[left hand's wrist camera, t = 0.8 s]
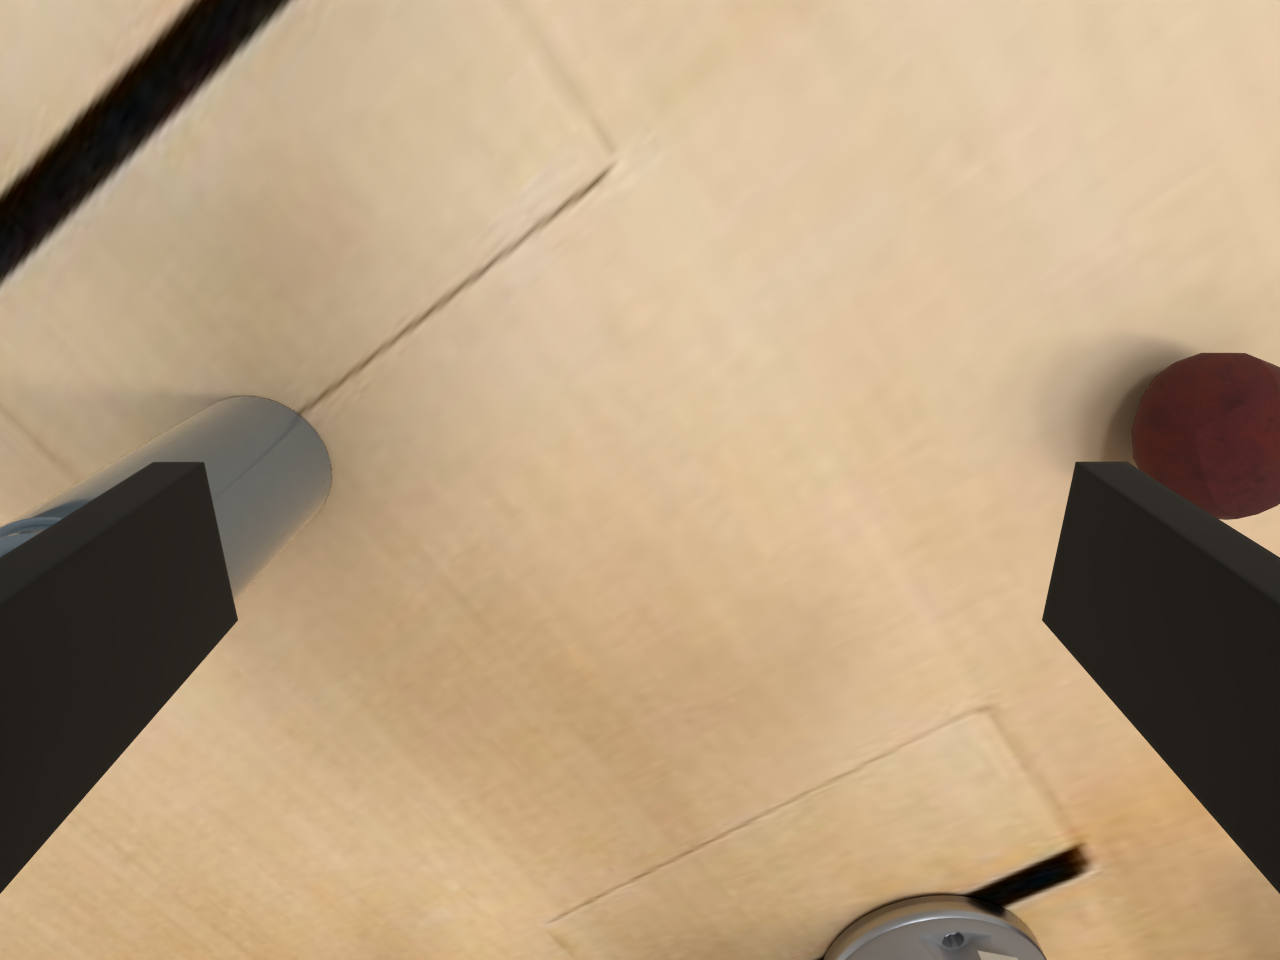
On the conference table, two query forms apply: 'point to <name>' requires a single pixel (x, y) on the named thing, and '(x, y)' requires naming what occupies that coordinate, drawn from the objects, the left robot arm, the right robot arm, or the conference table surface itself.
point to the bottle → (221, 481)
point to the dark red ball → (1213, 433)
